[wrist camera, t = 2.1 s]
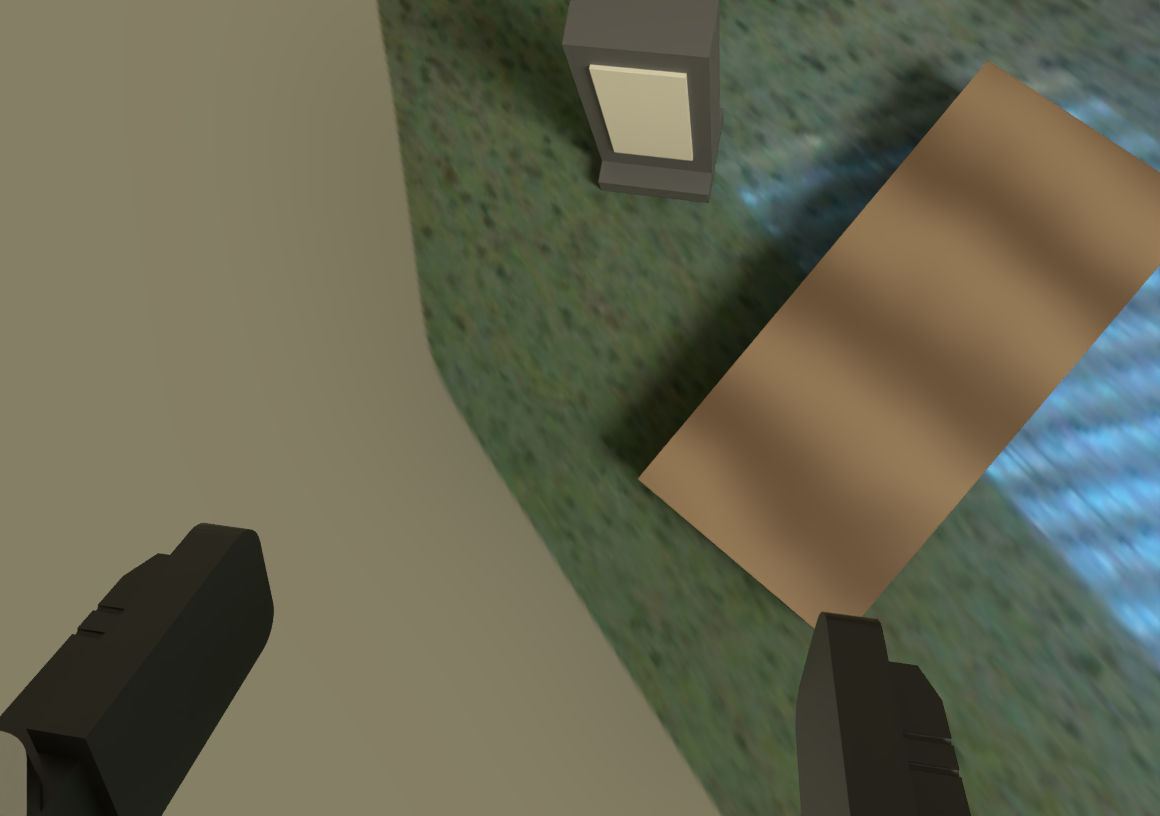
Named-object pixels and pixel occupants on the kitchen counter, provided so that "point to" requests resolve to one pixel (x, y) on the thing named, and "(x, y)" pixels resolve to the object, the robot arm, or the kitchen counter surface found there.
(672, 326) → the kitchen counter surface
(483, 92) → the kitchen counter surface
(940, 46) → the kitchen counter surface
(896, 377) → the wooden block
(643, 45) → the picture frame
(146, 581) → the robot arm
